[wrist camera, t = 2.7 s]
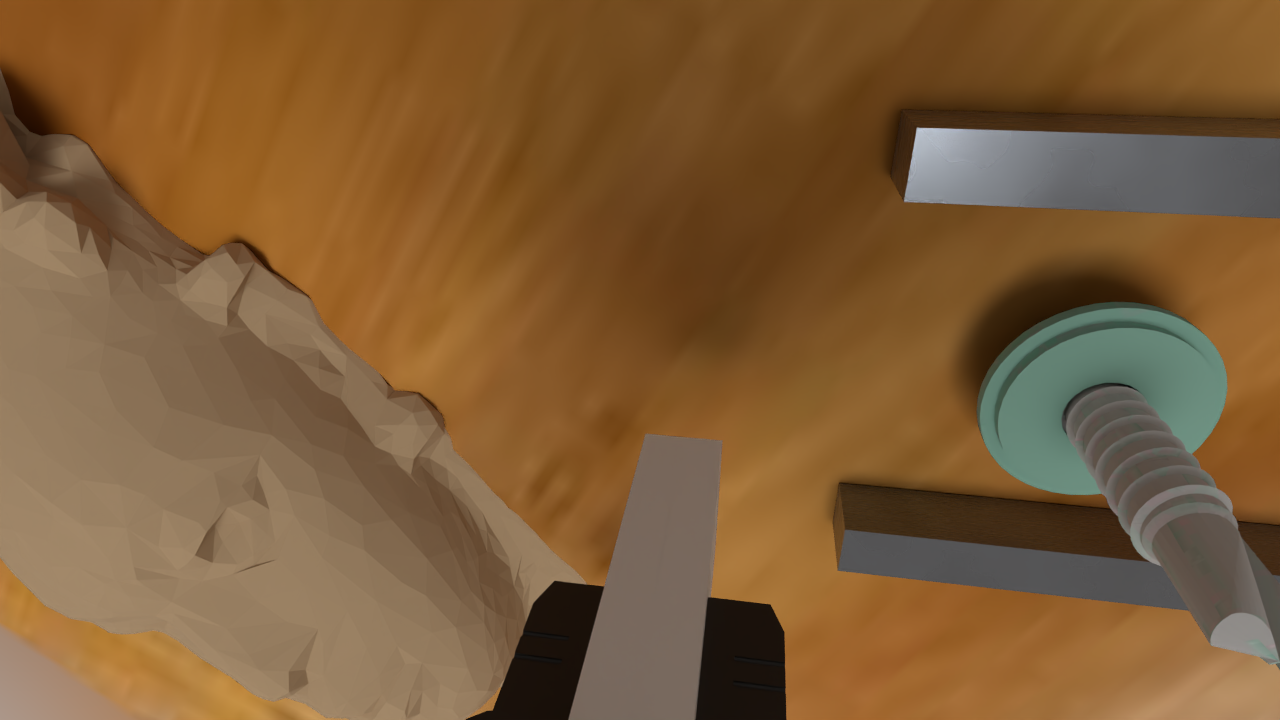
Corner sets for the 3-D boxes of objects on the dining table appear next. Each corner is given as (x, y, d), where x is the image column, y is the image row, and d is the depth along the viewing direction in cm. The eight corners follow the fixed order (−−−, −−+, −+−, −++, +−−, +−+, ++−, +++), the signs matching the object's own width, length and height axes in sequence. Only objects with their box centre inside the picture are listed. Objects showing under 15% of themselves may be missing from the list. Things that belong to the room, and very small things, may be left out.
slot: (901, 109, 16) (917, 128, 14) (1527, 126, 14) (1629, 149, 13) (832, 522, 22) (837, 570, 20) (1271, 568, 20) (1318, 625, 18)
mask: (411, 918, 26) (-490, 412, 20) (480, 739, 31) (-201, 306, 26) (686, 775, 18) (-605, -88, 13) (710, 577, 24) (-165, -78, 18)
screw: (933, 316, 18) (1155, 236, 17) (990, 464, 20) (1196, 406, 18) (1050, 582, 11) (1493, 485, 9) (1127, 785, 12) (1507, 740, 11)
